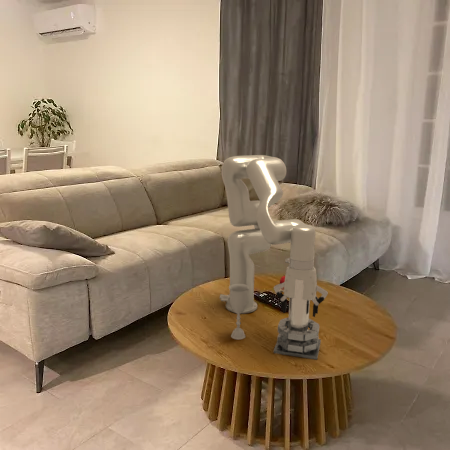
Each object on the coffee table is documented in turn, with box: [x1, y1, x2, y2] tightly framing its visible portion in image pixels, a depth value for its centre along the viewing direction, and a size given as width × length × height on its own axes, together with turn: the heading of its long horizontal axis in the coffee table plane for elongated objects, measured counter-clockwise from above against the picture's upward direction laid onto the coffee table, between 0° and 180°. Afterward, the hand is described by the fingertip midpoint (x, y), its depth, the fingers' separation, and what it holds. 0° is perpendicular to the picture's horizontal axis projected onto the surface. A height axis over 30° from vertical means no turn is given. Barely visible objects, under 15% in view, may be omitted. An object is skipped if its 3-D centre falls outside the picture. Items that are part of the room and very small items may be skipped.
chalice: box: [228, 284, 249, 340], centre depth 162 cm, size 7×7×18 cm
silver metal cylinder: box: [288, 279, 311, 344], centre depth 153 cm, size 6×6×25 cm
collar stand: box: [273, 316, 322, 360], centre depth 155 cm, size 14×13×8 cm
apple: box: [279, 274, 286, 293], centre depth 206 cm, size 8×8×6 cm
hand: (299, 313), depth 153 cm, fingers open, 9 cm apart
